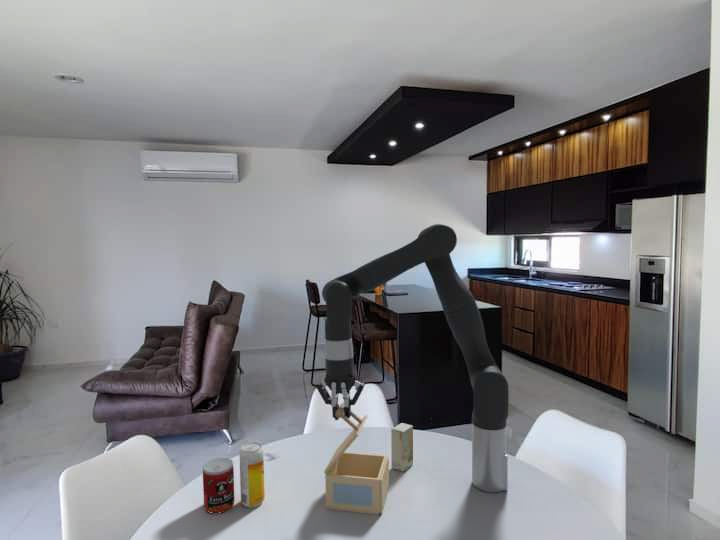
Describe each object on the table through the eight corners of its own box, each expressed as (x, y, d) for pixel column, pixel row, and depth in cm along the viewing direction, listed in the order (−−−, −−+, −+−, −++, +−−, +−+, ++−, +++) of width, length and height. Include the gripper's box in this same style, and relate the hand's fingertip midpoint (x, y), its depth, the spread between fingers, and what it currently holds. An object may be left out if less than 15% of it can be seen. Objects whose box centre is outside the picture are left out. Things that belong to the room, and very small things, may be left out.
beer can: (269, 498, 117) (267, 444, 116) (254, 511, 112) (253, 454, 111) (251, 493, 120) (249, 440, 119) (236, 505, 114) (234, 449, 113)
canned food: (206, 518, 109) (204, 475, 108) (201, 502, 116) (200, 461, 115) (237, 509, 112) (236, 467, 112) (231, 494, 120) (230, 455, 119)
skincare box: (403, 472, 130) (402, 432, 129) (390, 468, 132) (390, 428, 132) (414, 463, 135) (413, 425, 134) (402, 459, 137) (401, 421, 137)
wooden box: (389, 487, 122) (388, 455, 121) (381, 515, 109) (381, 480, 108) (338, 482, 125) (338, 451, 124) (325, 509, 112) (325, 475, 111)
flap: (368, 415, 122) (346, 396, 123) (358, 435, 109) (334, 413, 110) (338, 450, 124) (317, 432, 125) (325, 473, 112) (302, 452, 113)
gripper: (367, 352, 118) (369, 415, 119) (318, 351, 121) (321, 413, 122) (361, 359, 111) (364, 426, 112) (310, 358, 114) (312, 423, 114)
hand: (341, 419), depth 117 cm, fingers closed on flap, 2 cm apart
